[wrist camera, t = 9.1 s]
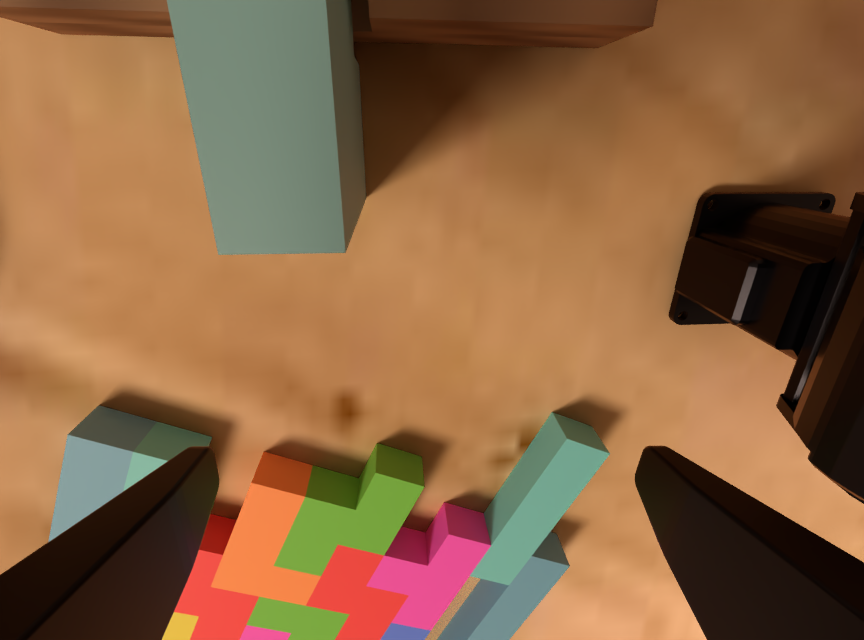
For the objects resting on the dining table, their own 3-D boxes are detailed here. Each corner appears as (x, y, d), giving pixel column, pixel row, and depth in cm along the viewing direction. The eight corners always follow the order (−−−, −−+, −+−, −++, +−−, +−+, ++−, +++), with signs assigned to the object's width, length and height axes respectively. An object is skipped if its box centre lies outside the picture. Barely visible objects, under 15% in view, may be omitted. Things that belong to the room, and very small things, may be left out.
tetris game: (432, 686, 36) (625, 434, 26) (435, 729, 33) (650, 467, 24) (57, 625, 29) (135, 255, 19) (24, 673, 26) (96, 274, 17)
